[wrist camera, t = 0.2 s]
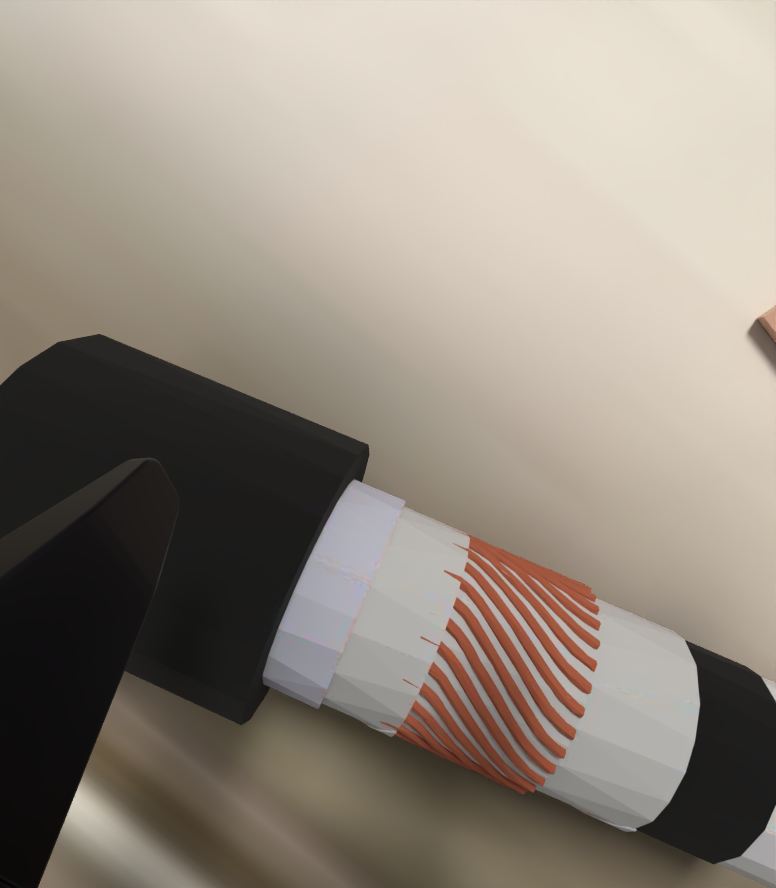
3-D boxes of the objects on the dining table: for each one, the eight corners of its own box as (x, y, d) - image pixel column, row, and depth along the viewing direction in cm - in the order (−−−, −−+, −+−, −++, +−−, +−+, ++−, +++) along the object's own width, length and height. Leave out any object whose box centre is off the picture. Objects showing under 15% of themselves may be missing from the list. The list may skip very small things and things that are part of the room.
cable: (817, 772, 26) (913, 1097, 18) (146, 477, 28) (-33, 652, 20) (1037, 662, 19) (1335, 1091, 12) (145, 291, 22) (-116, 441, 14)
